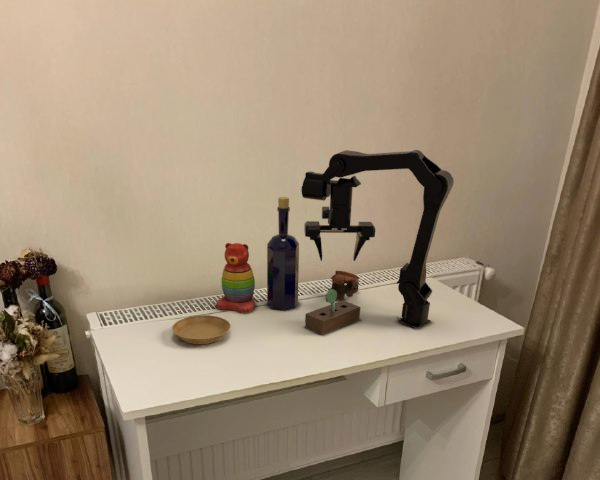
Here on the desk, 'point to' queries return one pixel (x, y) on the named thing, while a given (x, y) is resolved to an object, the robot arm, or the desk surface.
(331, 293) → the spoon
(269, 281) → the bottle
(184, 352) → the desk surface
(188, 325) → the plant saucer
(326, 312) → the holder
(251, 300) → the stacking bear
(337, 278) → the pottery mug
